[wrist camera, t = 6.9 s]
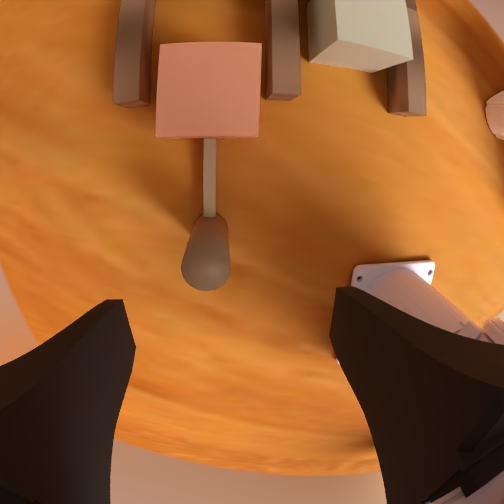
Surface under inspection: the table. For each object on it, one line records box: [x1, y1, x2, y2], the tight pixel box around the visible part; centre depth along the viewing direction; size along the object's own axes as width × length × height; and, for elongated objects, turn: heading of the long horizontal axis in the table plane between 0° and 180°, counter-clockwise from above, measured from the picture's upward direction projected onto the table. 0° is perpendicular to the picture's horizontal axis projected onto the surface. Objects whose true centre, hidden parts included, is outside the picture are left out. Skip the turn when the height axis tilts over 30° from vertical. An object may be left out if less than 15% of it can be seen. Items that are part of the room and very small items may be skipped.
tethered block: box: [155, 42, 262, 291], centre depth 14 cm, size 11×4×6 cm, turn 178°
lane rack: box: [113, 0, 426, 117], centre depth 13 cm, size 10×18×2 cm, turn 90°
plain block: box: [306, 0, 413, 73], centre depth 12 cm, size 4×4×5 cm
